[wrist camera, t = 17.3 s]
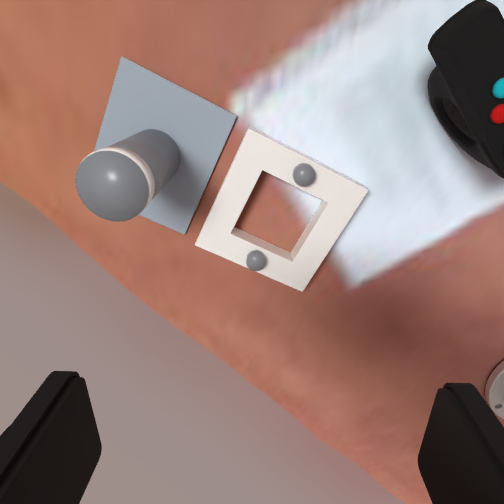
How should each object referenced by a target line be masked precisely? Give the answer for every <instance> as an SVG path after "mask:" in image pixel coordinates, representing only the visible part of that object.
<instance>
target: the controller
mask: <svg viewBox="0 0 504 504" xmlns="http://www.w3.org/2000/svg"><path fill="white" fill-rule="evenodd" d="M428 50H429V52H430V53H431V55H432V57H433V59H434V61H435V63H436V65H437V66H436V67H435V69H434V70H433V71H432V73H431V74H430V77H429V80H428V93H429V97H430V101H431V104H432V107H433V109H434V111H435V113H436V115H437V117H438V119H439V121H440V122H441V124H442V125H443V126H444V128H445V129H446V131H447V132H448V133H449V134H450V136H451V137H452V138H453V139H454V140H455V141H456V142H457V143H458V144H459V145H460V146H461V147H462V149H464V150H465V151H466V152H467V153H468V154H469V155H470V156H472V157H473V158H475V159H476V160H477V161H479V162H480V163H482V164H484V165H485V166H487V167H488V168H490V169H492V170H493V171H494V172H495V173H496V174H497V175H499V176H500V177H502V178H504V19H503V17H502V15H501V13H500V11H499V9H498V7H496V6H495V5H494V4H492V3H490V2H488V1H486V0H475V1H473V2H471V3H469V4H468V5H466V6H465V7H464V8H462V9H461V10H460V11H458V12H457V13H456V14H455V15H453V16H452V17H451V18H450V19H448V20H447V21H446V22H445V23H444V24H443V25H442V26H441V27H440V28H439V29H438V30H437V31H436V32H435V33H434V34H433V35H432V37H431V39H430V41H429V44H428Z"/></svg>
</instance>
